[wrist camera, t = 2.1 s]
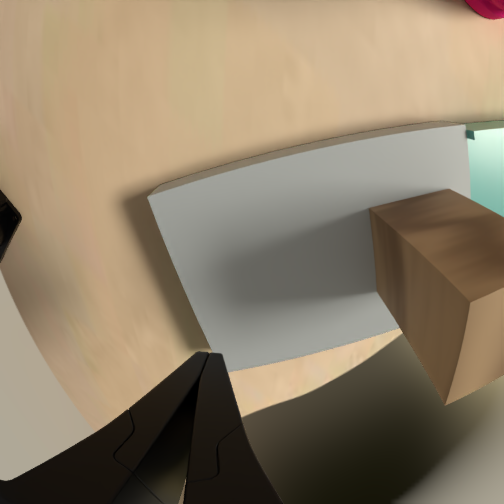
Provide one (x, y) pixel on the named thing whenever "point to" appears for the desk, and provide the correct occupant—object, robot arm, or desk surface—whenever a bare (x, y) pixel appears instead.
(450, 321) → the brick
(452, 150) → the plate
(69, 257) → the desk surface
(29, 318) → the desk surface
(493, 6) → the pepper mill
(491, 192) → the tray
